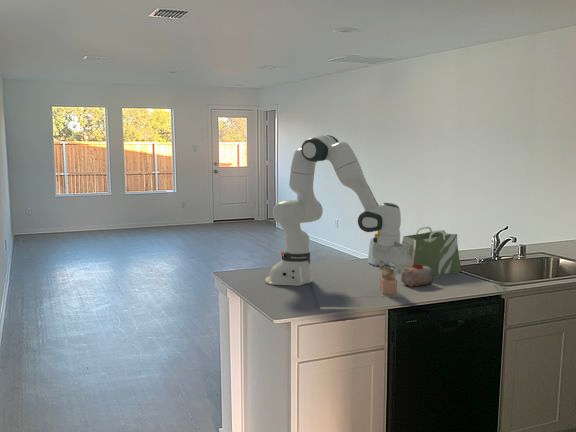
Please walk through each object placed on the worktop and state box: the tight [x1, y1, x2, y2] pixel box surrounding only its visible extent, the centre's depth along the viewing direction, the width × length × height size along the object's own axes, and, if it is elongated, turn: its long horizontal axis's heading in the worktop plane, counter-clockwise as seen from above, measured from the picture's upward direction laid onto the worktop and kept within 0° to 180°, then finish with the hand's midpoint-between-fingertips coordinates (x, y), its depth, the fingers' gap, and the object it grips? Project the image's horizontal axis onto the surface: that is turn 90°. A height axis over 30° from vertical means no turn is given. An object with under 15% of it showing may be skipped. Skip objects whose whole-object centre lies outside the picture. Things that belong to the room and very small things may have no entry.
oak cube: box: [381, 267, 397, 280], centre depth 241 cm, size 4×4×4 cm
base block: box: [379, 276, 398, 294], centre depth 241 cm, size 6×6×6 cm
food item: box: [401, 263, 433, 288], centre depth 260 cm, size 14×8×10 cm, turn 116°
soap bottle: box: [367, 231, 390, 267], centre depth 304 cm, size 10×14×22 cm
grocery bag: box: [398, 226, 463, 276], centre depth 286 cm, size 32×14×23 cm, turn 117°
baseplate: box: [344, 287, 407, 298], centre depth 241 cm, size 24×14×1 cm, turn 93°
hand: (388, 272), depth 241 cm, fingers open, 8 cm apart
